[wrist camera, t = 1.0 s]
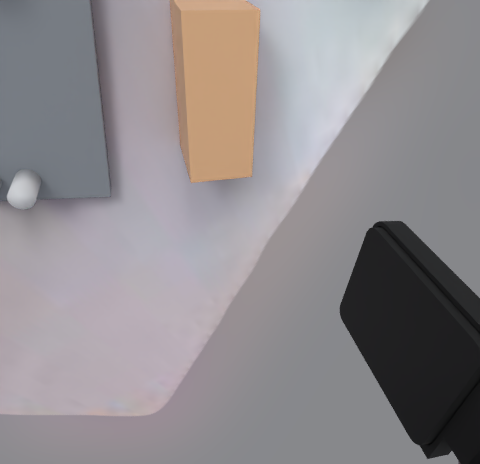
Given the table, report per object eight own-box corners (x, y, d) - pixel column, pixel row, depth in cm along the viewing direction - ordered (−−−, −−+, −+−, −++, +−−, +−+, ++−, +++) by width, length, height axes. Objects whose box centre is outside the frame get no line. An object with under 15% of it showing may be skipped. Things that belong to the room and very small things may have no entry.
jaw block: (169, -6, 29) (180, 10, 24) (235, -6, 30) (260, 9, 25) (180, 144, 36) (190, 182, 31) (232, 140, 37) (251, 176, 32)
